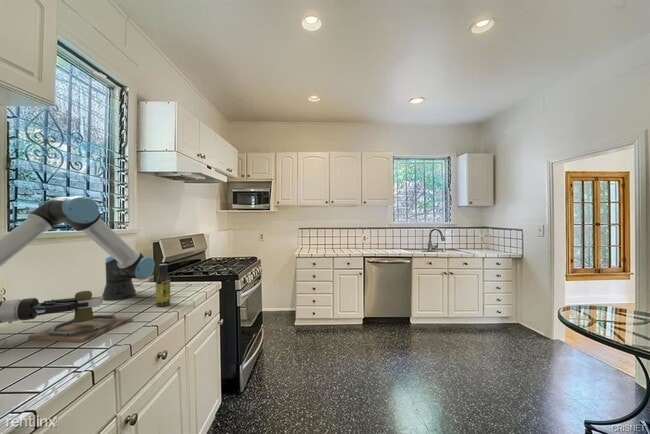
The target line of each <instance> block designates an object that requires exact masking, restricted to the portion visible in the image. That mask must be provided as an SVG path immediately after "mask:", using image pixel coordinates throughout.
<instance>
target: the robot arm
mask: <svg viewBox="0 0 650 434" xmlns="http://www.w3.org/2000/svg"><path fill="white" fill-rule="evenodd" d="M61 224H68V225H69V226H70V227H72V229H74V231H76V232H83V233H84V234H85V235H86V236H88V237H89V238H90V240H92V241H93V242H94V243H96V244H97V245H98V246H99V247H100V248H101V249H103V250H104V251H105V252H106V254H108V256H107V257H106V258H105V262H104V265H105V286H104V290H103V293H102V294H101V295H100V296H92V297H91V299H90V300H84V301H78V303H77V301H76V300H75V297H70V298H61V299H51V300H44V301H43V302H39V300H38V298H36V297H29V298H23V299H20V298H18V299H9V300H8V299H7V300H0V324H3V323H7V324H12V323H14V322H18V321H30V320H34V319H36V318H37V316H43V315H49V314H57V313H64V312H65V313H66V312H73V311H74V313H75V311H77V308H78V309H81V308H89V307H92V308H95V307H97V308H98V307H100V306H101V304H103V301H117V300H123V299H128V298H131V297H134V296H136V294H137V291H136V289H135V287H134V283H133V279H134V280H142V279H143V280H145V279H148V278H150V277H151V275H152V274H153V272H154V270H155V266H156V265H155V261H154V259H153V258H152V257H150V256H145V255H143V253H141V251H139V250H138V249H133V248H131V246H129V244H128V243H126V242H125V241H124V240H123V239H122V238H121V237H120V236H119V235H118V234H117V233H116V232H115V231H114V230H113V229H112V228H111V227H110V226H109V225H108V224H106V222H104V220H102V213H100V207H99V205H98V203H97V202H96V201H95V200H94V199H92V198H90V197H88V196H83V195H72V196H58V197H54V198H53V197H52V198H51V199H49V200H47V201H45V202H44V203H42V204H41V205H40V206H38V207H37V208H35V209H34V210H32V211H31V212H30V213H28V214H27V217H26V219H25V220H24V221H22V222H21V223H20V224H18V225H17V226H15V228H13V229H12V230H10V231H9V232H8V233H6V234H5V235H4V236H3V237H1V238H0V268H1V267H2V266H3V265H5V264H6V263H7V262H8V261H10V260H11V259H12V258H13V257H15V256H16V255H17V254H18V253H19V252H21V251H22V250H23V249H24V248H26V247H27V246H28V245H29V244H31V243H32V242H33V241H34V240H36V239H37V238H38V237H39V236H40V235H42V233H44V232H45V231H50V230H52V229H54V227H56V226H58V225H61Z"/></svg>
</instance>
